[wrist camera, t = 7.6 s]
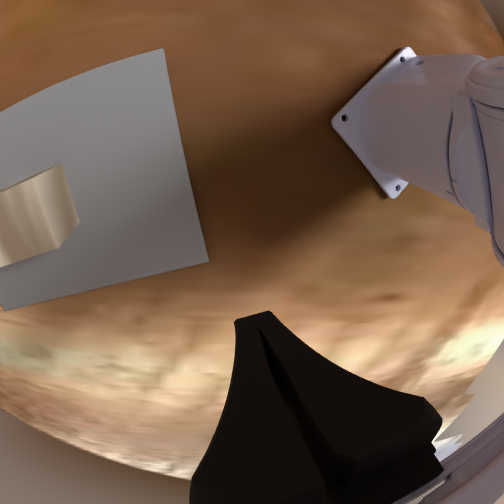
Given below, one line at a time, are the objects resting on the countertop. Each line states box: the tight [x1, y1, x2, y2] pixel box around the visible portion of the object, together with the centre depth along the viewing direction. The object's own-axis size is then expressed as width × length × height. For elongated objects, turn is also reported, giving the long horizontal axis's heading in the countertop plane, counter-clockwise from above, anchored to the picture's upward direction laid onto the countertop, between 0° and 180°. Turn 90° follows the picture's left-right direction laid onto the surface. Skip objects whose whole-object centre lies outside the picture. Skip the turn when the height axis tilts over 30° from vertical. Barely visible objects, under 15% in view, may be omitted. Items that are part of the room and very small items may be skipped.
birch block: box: [0, 163, 80, 267], centre depth 14 cm, size 4×4×9 cm
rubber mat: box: [0, 49, 209, 311], centre depth 17 cm, size 18×14×1 cm
